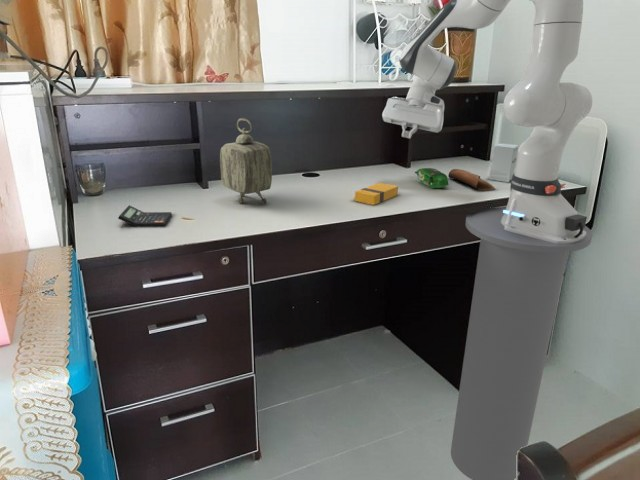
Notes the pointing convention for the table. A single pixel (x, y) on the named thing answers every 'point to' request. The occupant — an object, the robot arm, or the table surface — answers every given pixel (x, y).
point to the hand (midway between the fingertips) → (405, 136)
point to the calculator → (144, 217)
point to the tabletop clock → (246, 165)
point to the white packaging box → (503, 162)
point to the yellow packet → (376, 193)
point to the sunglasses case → (470, 179)
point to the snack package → (432, 177)
